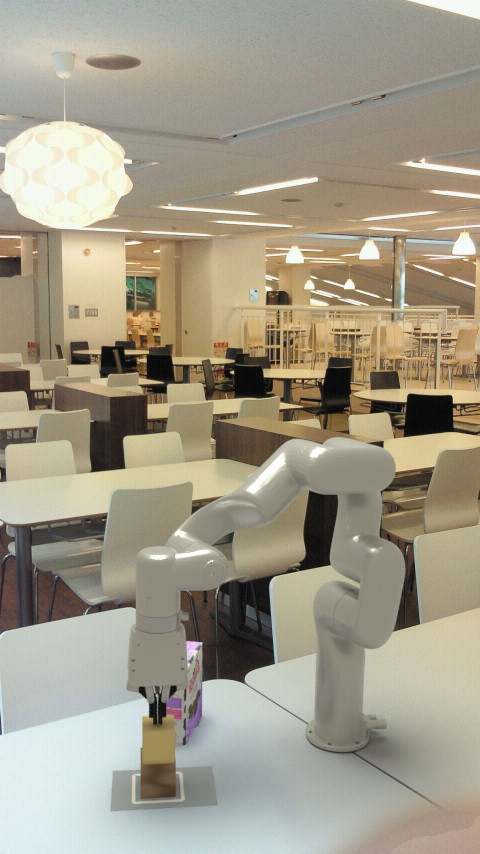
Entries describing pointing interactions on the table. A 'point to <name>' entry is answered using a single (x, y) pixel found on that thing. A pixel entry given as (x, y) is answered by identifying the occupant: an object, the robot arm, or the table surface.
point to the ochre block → (158, 741)
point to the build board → (190, 792)
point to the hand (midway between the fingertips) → (157, 720)
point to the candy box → (187, 697)
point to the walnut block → (158, 780)
